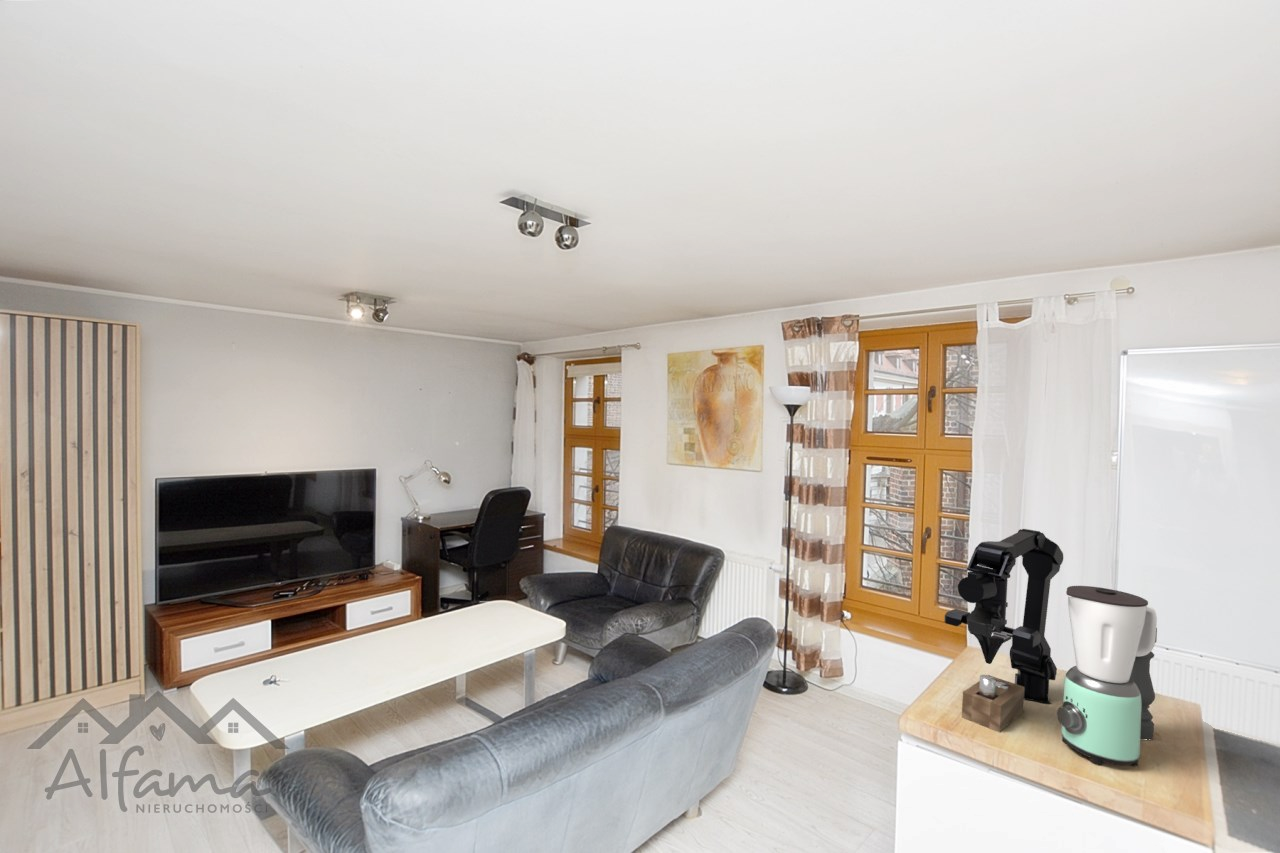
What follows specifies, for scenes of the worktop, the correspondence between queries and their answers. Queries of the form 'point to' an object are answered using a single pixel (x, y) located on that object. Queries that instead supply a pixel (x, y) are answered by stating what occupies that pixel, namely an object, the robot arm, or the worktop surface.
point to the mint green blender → (1105, 673)
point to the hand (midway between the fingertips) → (988, 663)
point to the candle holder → (1144, 692)
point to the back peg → (1002, 685)
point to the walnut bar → (993, 705)
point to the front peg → (987, 686)
